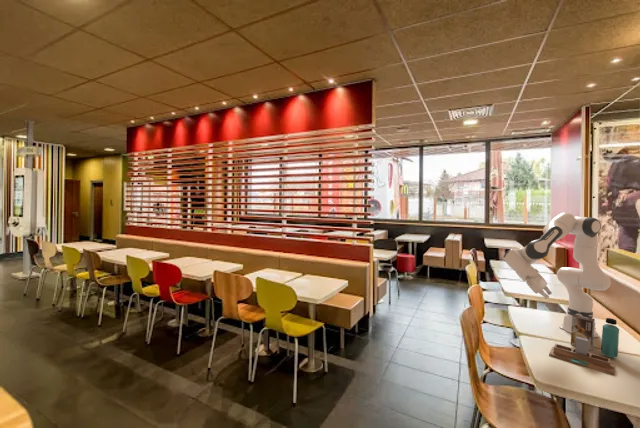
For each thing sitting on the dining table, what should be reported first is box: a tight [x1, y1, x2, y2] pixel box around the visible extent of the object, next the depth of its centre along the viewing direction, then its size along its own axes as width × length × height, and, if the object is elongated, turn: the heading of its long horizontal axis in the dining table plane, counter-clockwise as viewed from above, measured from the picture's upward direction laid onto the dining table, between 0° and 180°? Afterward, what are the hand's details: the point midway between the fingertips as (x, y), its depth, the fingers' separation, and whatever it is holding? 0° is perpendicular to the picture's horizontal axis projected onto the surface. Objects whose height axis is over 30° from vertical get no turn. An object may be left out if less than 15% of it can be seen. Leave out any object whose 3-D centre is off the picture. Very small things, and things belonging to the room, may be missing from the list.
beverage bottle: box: [600, 317, 620, 358], centre depth 158 cm, size 6×7×20 cm
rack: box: [548, 343, 615, 376], centre depth 153 cm, size 13×24×4 cm, turn 46°
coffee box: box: [570, 314, 596, 351], centre depth 170 cm, size 9×6×16 cm
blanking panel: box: [574, 337, 589, 356], centre depth 153 cm, size 3×4×10 cm, turn 46°
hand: (549, 296), depth 167 cm, fingers open, 8 cm apart
